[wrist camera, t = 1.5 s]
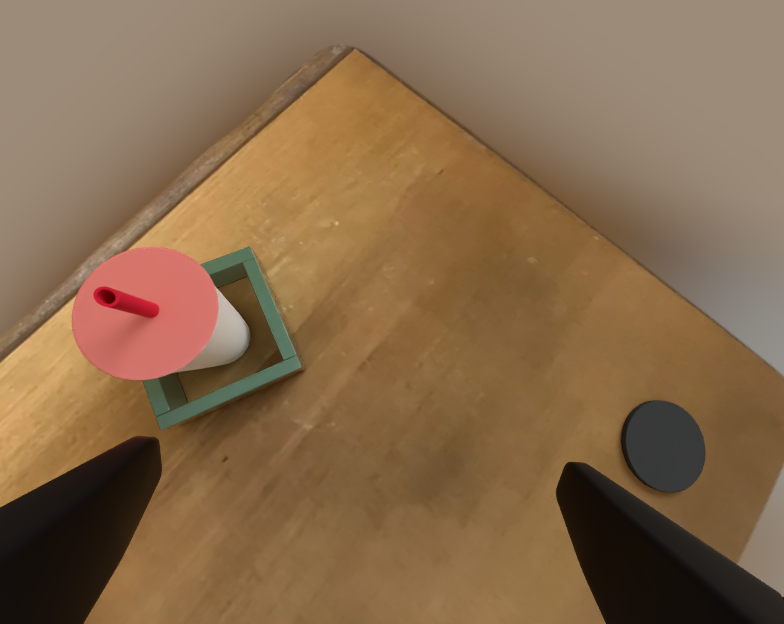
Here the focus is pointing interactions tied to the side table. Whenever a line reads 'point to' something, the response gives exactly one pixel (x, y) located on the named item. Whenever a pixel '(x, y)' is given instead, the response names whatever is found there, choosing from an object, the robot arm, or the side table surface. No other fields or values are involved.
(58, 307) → the side table surface
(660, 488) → the coaster
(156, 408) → the holder
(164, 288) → the cup
